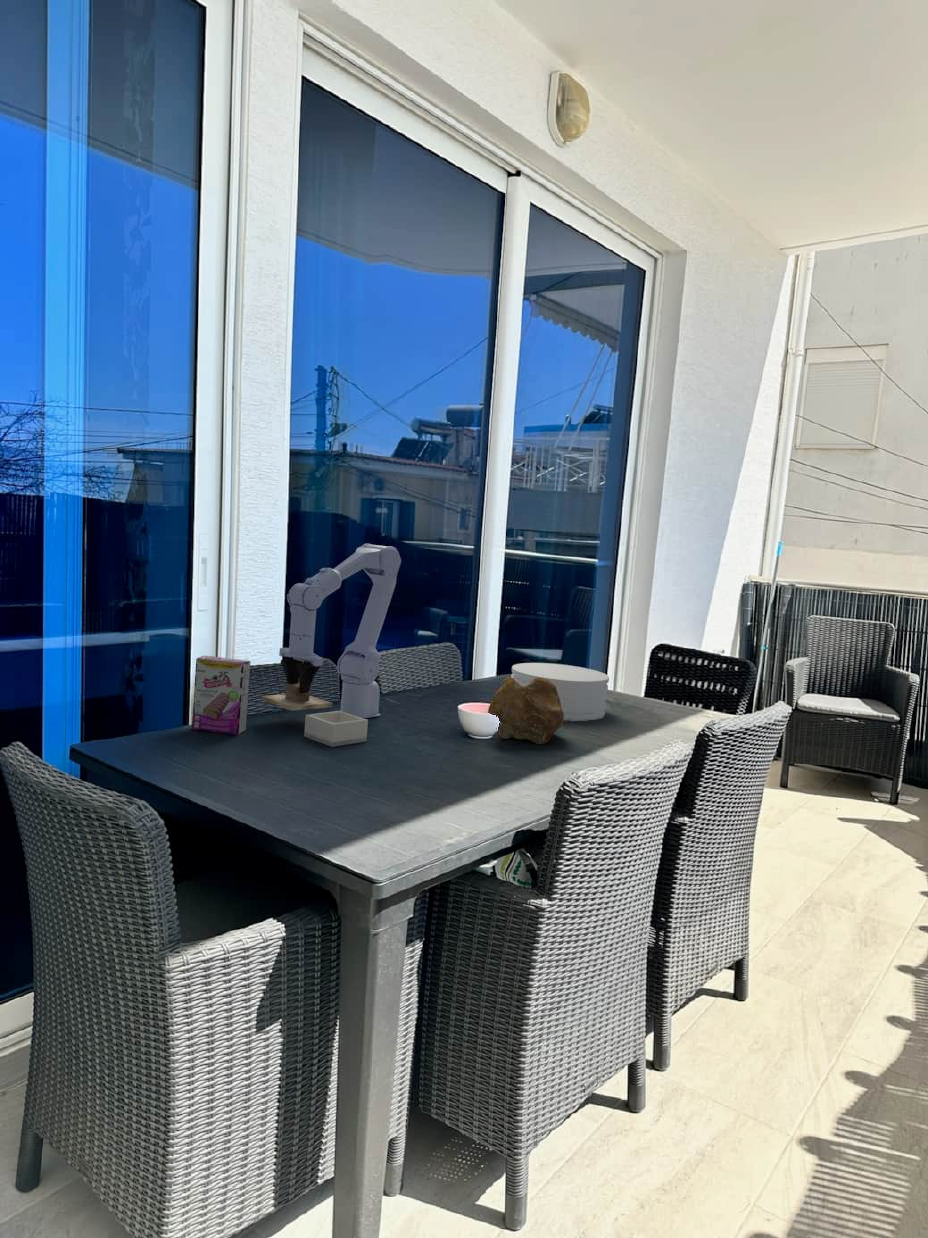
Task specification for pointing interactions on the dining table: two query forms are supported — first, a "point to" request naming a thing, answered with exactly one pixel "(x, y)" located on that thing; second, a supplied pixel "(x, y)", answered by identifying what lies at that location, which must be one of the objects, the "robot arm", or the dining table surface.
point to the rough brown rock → (527, 710)
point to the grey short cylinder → (569, 687)
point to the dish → (336, 728)
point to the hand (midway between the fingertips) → (298, 690)
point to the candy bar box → (221, 695)
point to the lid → (296, 699)
